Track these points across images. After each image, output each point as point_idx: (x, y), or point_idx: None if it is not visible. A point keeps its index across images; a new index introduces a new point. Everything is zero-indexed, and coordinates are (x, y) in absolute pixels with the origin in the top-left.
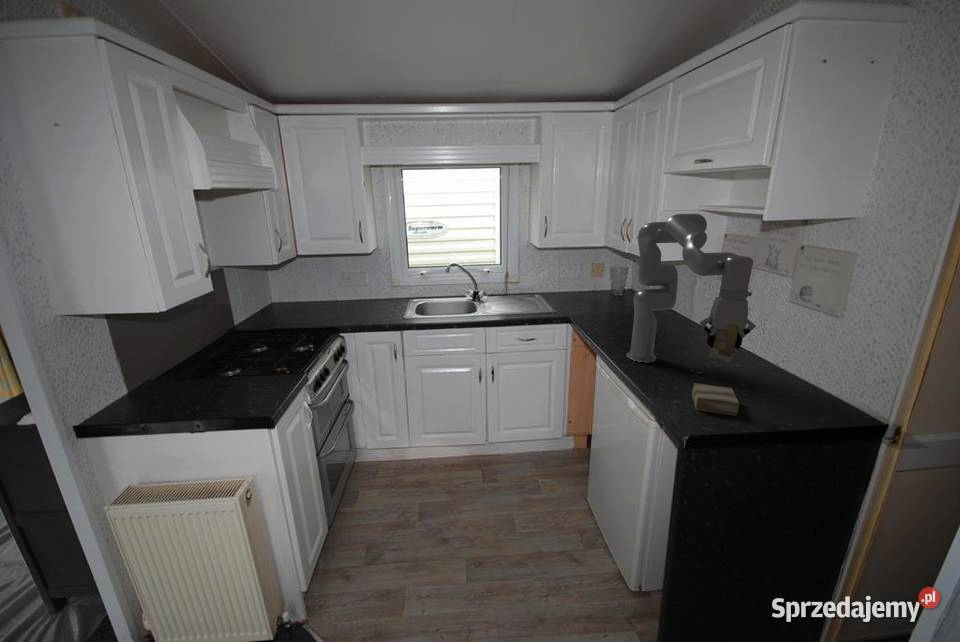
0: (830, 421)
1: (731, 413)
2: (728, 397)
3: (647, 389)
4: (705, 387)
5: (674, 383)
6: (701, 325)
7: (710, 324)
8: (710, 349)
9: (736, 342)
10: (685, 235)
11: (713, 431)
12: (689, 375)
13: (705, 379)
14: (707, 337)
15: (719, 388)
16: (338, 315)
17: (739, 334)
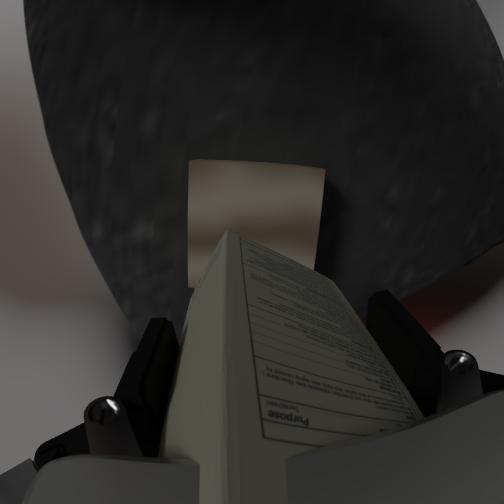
0: (481, 233)
1: None
2: (290, 256)
3: (70, 173)
4: (227, 190)
5: (152, 86)
6: (21, 478)
7: (74, 466)
8: (183, 329)
9: None
10: None
11: None
12: (219, 5)
13: (269, 21)
14: (121, 382)
15: (278, 185)
16: None
17: (424, 415)
